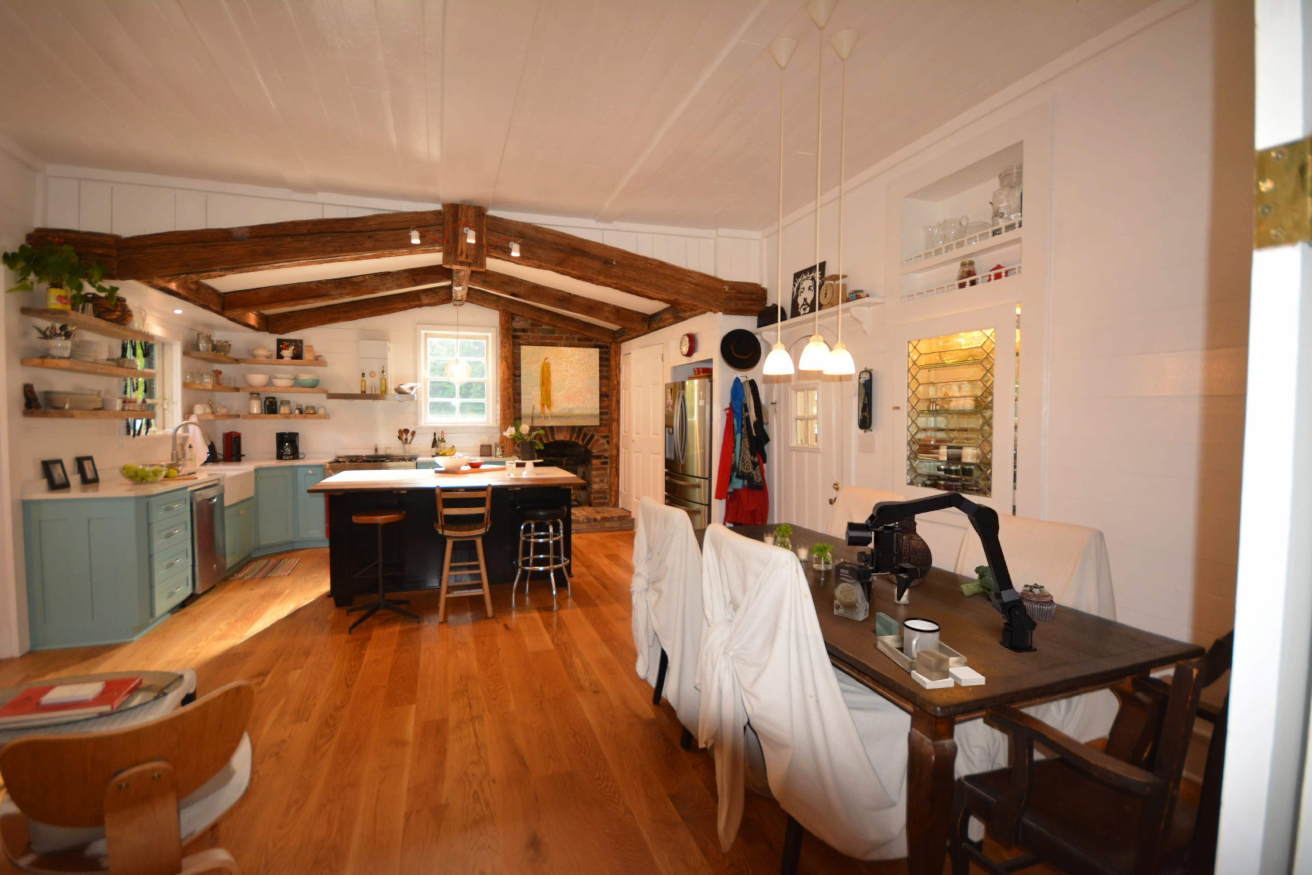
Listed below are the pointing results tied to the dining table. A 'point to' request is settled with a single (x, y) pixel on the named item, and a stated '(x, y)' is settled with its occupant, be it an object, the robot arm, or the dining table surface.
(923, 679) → the broken cream strip
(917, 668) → the beige cube
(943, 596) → the dining table surface
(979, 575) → the vegetable
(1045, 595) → the cupcake
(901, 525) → the ceramic vessel
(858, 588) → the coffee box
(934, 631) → the mug
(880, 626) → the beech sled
